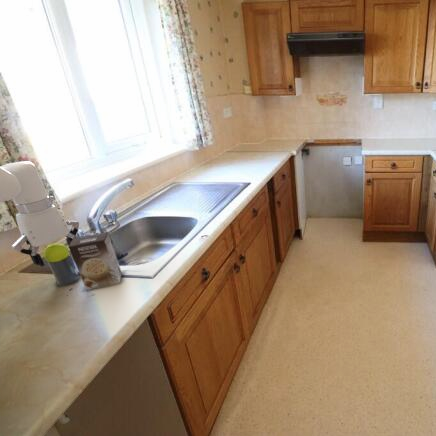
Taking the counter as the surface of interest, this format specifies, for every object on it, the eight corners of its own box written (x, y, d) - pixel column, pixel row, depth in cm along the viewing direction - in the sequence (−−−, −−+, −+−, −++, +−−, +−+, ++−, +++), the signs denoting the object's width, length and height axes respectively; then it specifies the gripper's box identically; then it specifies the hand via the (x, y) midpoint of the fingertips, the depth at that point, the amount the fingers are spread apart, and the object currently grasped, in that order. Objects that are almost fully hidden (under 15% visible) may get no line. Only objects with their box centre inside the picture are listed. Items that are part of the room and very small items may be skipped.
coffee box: (86, 293, 97) (66, 247, 91) (91, 281, 103) (72, 237, 96) (120, 285, 101) (103, 239, 94) (123, 274, 106) (107, 231, 99)
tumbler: (65, 289, 100) (53, 264, 96) (55, 285, 102) (43, 261, 98) (84, 279, 104) (73, 255, 101) (73, 275, 106) (63, 252, 103)
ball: (55, 268, 96) (46, 251, 94) (44, 264, 99) (35, 247, 96) (76, 258, 101) (68, 241, 98) (65, 254, 103) (57, 238, 101)
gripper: (60, 194, 100) (80, 242, 108) (-11, 215, 86) (17, 269, 93) (74, 196, 98) (94, 246, 105) (3, 219, 83) (31, 275, 91)
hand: (58, 257), depth 99 cm, fingers open, 9 cm apart
